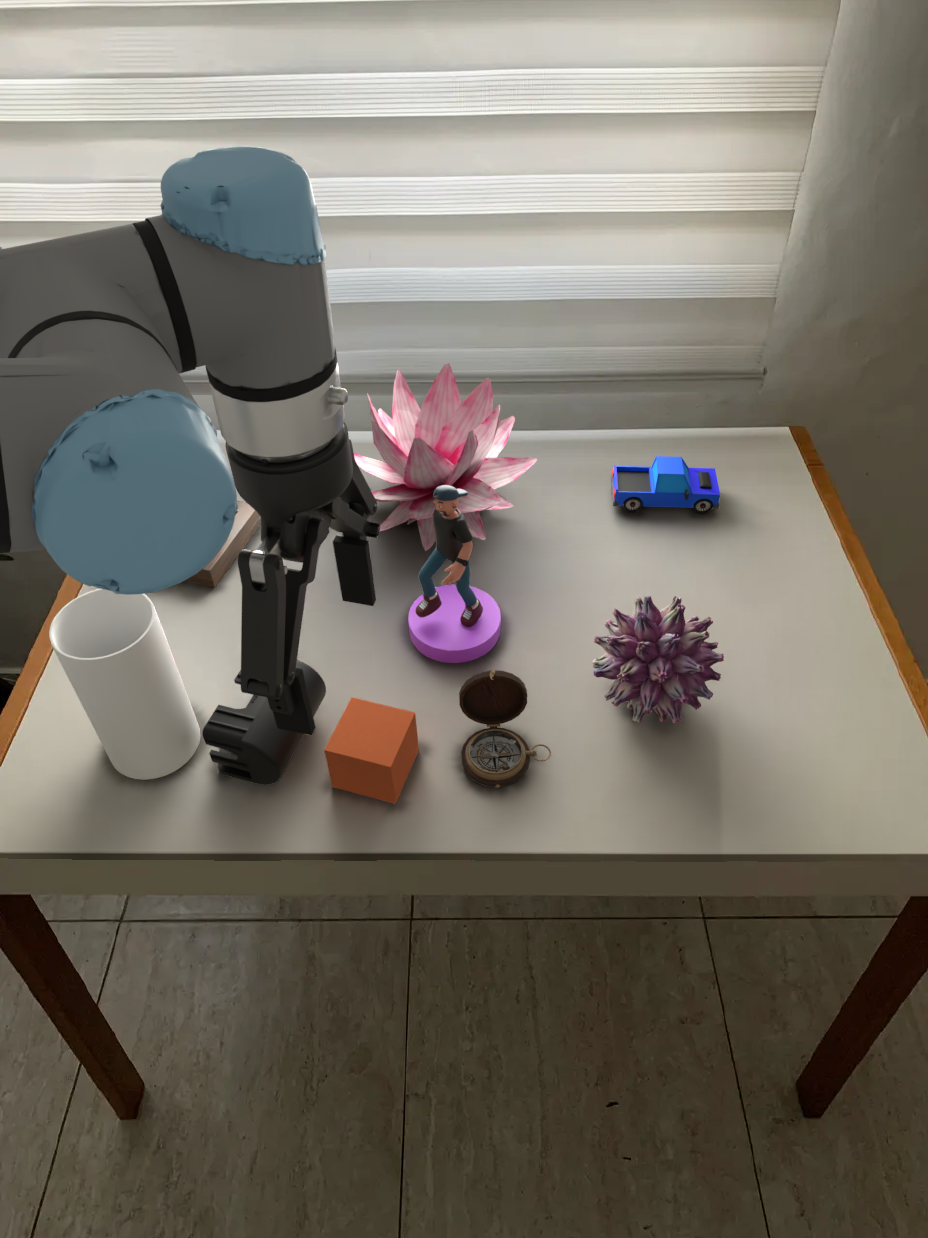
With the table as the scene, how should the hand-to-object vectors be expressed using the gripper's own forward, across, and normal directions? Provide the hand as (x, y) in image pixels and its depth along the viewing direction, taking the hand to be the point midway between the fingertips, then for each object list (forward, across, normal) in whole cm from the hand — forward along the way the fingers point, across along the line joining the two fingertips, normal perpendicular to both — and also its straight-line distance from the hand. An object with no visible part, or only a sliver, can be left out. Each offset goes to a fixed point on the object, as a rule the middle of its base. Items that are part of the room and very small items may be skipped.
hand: (330, 660), depth 71 cm
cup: (+15, -2, +18) cm, 24 cm away
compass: (+15, +5, -13) cm, 20 cm away
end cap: (+15, +1, +8) cm, 17 cm away
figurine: (+15, +19, -4) cm, 24 cm away
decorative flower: (+15, +37, +3) cm, 40 cm away
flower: (+15, +14, -25) cm, 32 cm away
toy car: (+15, +45, -23) cm, 53 cm away
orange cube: (+15, +1, -2) cm, 15 cm away
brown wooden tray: (+14, +25, +28) cm, 40 cm away
